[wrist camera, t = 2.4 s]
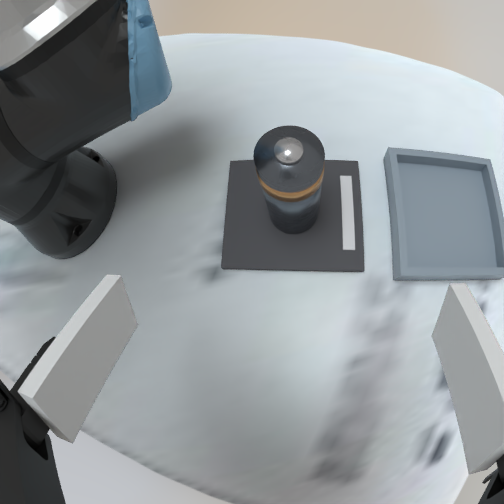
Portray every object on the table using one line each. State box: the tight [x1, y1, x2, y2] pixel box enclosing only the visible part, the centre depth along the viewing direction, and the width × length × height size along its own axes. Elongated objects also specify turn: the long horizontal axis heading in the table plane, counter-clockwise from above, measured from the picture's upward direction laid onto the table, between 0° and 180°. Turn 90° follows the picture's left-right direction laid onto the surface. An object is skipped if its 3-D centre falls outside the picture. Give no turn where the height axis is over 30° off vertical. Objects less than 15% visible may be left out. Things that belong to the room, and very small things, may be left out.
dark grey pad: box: [221, 160, 364, 272], centre depth 32 cm, size 14×12×1 cm
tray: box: [384, 147, 504, 280], centre depth 29 cm, size 14×14×2 cm
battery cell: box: [254, 126, 325, 234], centre depth 27 cm, size 5×5×12 cm
